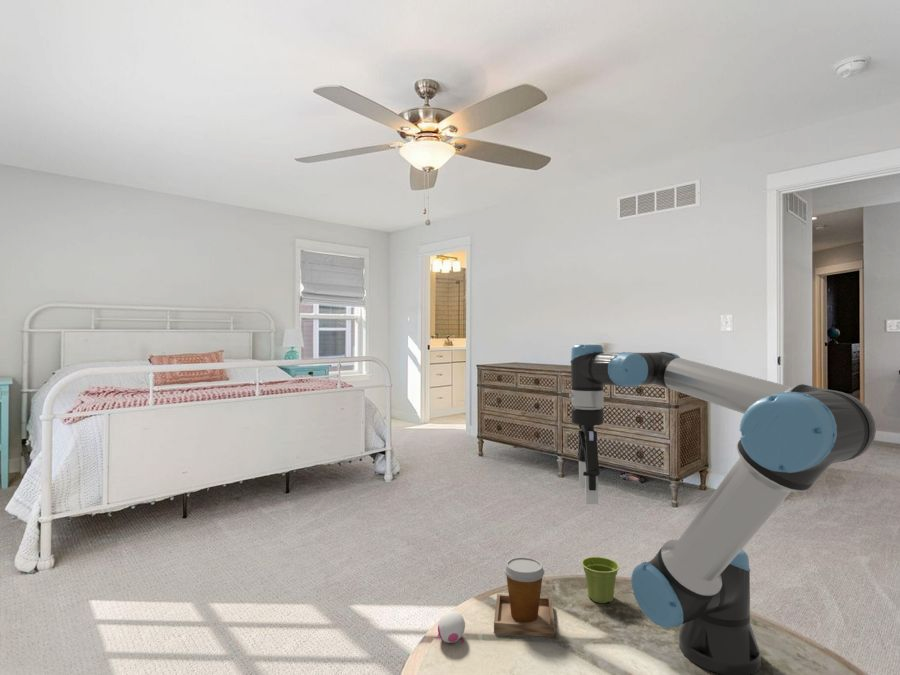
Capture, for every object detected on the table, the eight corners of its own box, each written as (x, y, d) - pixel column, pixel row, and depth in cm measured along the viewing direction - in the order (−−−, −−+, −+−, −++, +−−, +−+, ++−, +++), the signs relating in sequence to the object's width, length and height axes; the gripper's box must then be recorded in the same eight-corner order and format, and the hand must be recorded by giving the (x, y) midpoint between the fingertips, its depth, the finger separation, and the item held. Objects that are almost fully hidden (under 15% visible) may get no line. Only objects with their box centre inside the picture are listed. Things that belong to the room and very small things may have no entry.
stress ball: (446, 644, 114) (430, 618, 115) (474, 627, 113) (458, 600, 114) (439, 663, 107) (422, 635, 108) (469, 645, 106) (452, 616, 107)
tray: (551, 606, 125) (551, 597, 125) (555, 637, 111) (555, 627, 111) (497, 602, 127) (497, 593, 127) (493, 632, 113) (493, 622, 113)
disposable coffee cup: (544, 628, 113) (544, 575, 114) (502, 623, 115) (502, 571, 116) (545, 607, 123) (544, 558, 123) (506, 603, 125) (506, 554, 125)
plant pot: (579, 602, 126) (579, 568, 127) (584, 586, 135) (584, 554, 135) (618, 610, 123) (617, 574, 123) (620, 593, 132) (620, 559, 132)
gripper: (567, 402, 135) (567, 481, 134) (576, 413, 110) (577, 510, 110) (595, 402, 134) (596, 482, 133) (612, 414, 109) (613, 512, 108)
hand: (588, 495), depth 121 cm, fingers open, 13 cm apart
